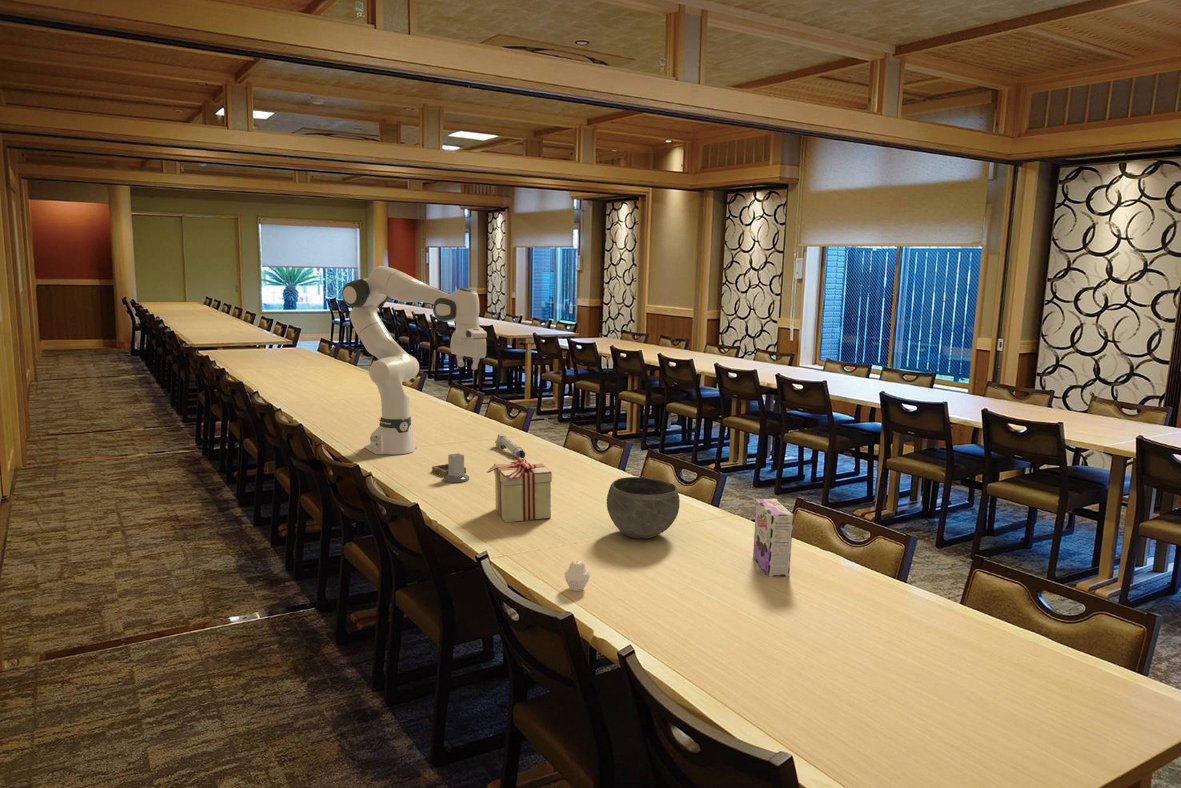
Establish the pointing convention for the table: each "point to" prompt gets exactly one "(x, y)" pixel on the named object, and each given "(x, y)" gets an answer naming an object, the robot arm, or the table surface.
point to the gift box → (522, 490)
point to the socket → (442, 469)
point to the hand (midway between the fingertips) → (467, 367)
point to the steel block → (456, 466)
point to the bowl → (642, 506)
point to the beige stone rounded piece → (577, 576)
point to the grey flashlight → (509, 445)
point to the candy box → (773, 537)
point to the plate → (449, 479)
